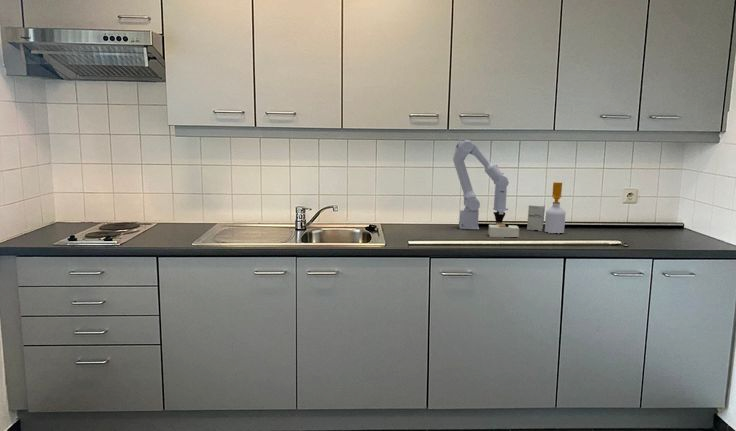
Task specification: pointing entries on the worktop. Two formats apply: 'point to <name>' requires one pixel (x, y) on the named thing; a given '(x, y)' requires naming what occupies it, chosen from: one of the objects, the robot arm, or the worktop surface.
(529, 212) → the supplement box
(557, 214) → the soap bottle
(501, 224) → the slat
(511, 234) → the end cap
